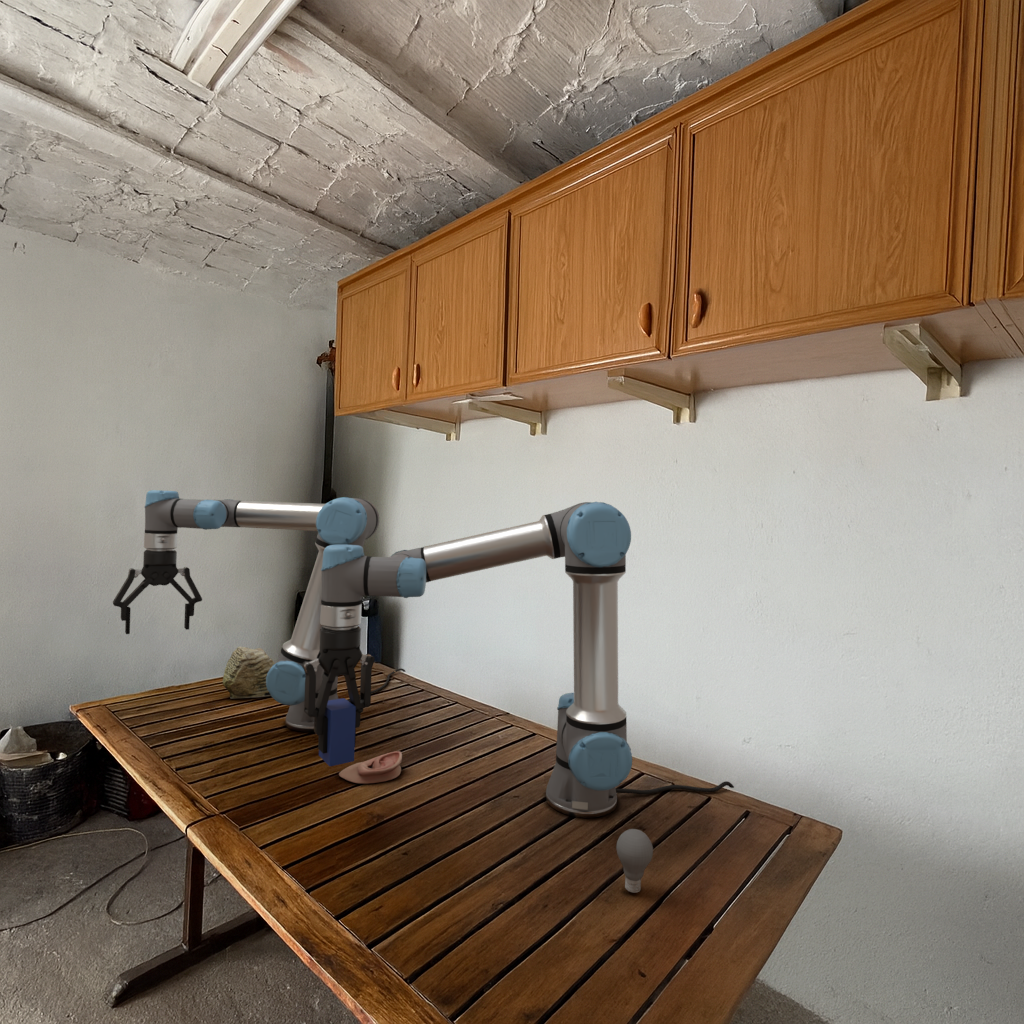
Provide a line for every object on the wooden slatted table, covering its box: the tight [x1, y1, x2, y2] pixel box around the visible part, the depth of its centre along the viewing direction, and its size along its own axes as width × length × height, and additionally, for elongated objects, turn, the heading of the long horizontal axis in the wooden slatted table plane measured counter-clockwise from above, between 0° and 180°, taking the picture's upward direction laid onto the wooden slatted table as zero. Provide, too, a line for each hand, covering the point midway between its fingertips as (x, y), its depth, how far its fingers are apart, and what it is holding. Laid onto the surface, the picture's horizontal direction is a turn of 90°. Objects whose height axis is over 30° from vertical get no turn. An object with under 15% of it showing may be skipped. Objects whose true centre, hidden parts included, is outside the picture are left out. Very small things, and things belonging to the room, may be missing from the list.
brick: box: [318, 697, 356, 767], centre depth 121 cm, size 5×6×10 cm
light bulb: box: [615, 828, 654, 894], centre depth 106 cm, size 6×6×10 cm
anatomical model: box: [338, 750, 403, 784], centre depth 146 cm, size 13×4×12 cm
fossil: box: [222, 646, 276, 699], centre depth 198 cm, size 9×18×15 cm, turn 132°
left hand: (157, 630), depth 165 cm, fingers open, 13 cm apart
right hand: (336, 747), depth 121 cm, fingers closed on brick, 5 cm apart
